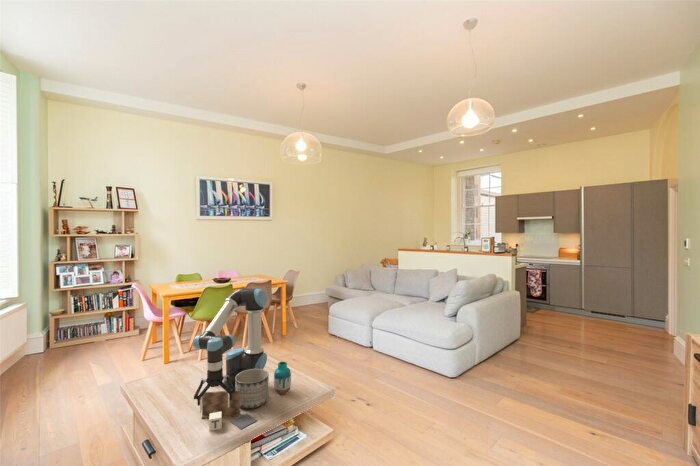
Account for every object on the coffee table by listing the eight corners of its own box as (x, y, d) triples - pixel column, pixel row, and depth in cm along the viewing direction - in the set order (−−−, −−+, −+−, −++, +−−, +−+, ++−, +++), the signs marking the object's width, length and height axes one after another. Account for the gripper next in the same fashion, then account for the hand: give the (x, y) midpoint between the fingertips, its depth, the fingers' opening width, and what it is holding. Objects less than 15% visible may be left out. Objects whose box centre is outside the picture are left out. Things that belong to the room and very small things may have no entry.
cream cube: (209, 424, 176) (209, 413, 176) (221, 422, 178) (221, 411, 178) (209, 431, 170) (209, 420, 170) (221, 428, 172) (221, 417, 172)
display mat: (230, 422, 177) (230, 421, 177) (246, 414, 185) (246, 413, 185) (241, 429, 171) (241, 428, 171) (257, 420, 179) (257, 420, 179)
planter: (250, 415, 184) (250, 386, 184) (228, 405, 194) (228, 377, 194) (275, 399, 200) (275, 373, 200) (253, 391, 210) (253, 366, 210)
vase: (287, 397, 203) (287, 367, 202) (271, 396, 205) (271, 365, 204) (293, 389, 213) (293, 360, 212) (278, 387, 215) (278, 359, 215)
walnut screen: (200, 418, 181) (200, 395, 180) (204, 412, 187) (204, 390, 186) (238, 416, 183) (238, 393, 183) (240, 410, 189) (240, 388, 189)
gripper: (188, 375, 165) (188, 417, 165) (240, 367, 174) (240, 407, 174) (189, 369, 172) (189, 409, 172) (239, 362, 181) (239, 400, 181)
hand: (214, 408), depth 173 cm, fingers open, 13 cm apart
